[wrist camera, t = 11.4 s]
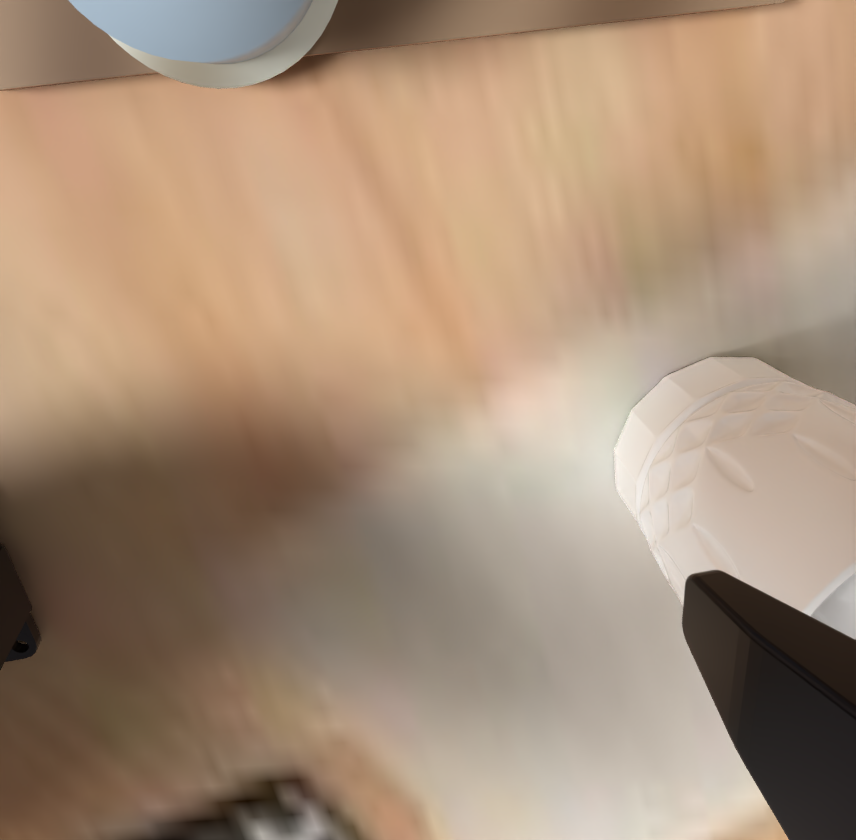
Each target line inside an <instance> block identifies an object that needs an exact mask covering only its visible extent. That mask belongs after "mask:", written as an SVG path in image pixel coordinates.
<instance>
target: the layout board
mask: <svg viewBox="0 0 856 840" xmlns="http://www.w3.org/2000/svg"><path fill="white" fill-rule="evenodd" d="M783 2H784V0H313V1H312V3H311V6H310V7H309V9H308V11H307V13H306V14H305V16H304V18H303V19H302V21H301V22H300V23H299V25H298V26H297V27H296V29H295V30H294V31H293V32H292V33H291V34H290V35H289V36H288V37H287V38H286V39H285V40H284V41H283V42H282V43H280V44H279V45H277V46H276V47H275V48H273V49H272V50H270V51H268V52H266V53H264V54H263V55H261V56H259V57H256V58H253V59H250V60H247V61H243V62H238V63H232V64H208V63H199V62H189V61H180V60H171V59H167V58H162V57H158V56H154V55H151V54H148V53H145V52H143V51H140V50H137V49H135V48H132V47H130V46H128V45H126V44H125V43H123V42H121V41H119V40H117V39H115V38H113V37H112V36H110V35H109V34H107V33H106V32H104V31H103V30H102V29H100V28H99V27H97V26H96V25H94V24H93V23H92V22H91V21H90V20H88V19H87V18H86V17H85V16H84V15H83V14H82V13H80V12H79V11H78V10H77V9H76V8H75V7H74V6H73V5H72V4H71V3H70V2H69V1H68V0H0V91H2V90H11V89H20V88H29V87H38V86H47V85H56V84H65V83H74V82H82V81H91V80H100V79H109V78H118V77H127V76H136V75H145V74H154V73H160V74H162V75H164V76H166V77H169V78H172V79H174V80H177V81H180V82H182V83H186V84H191V85H195V86H199V87H207V88H217V89H221V88H238V87H243V86H249V85H254V84H257V83H259V82H262V81H265V80H268V79H270V78H272V77H274V76H276V75H278V74H280V73H282V72H284V71H285V70H287V69H288V68H289V67H291V66H292V65H294V64H295V63H296V62H298V61H299V60H300V59H301V58H302V57H307V56H316V55H325V54H334V53H343V52H352V51H361V50H370V49H379V48H388V47H397V46H405V45H414V44H423V43H432V42H441V41H450V40H459V39H468V38H477V37H486V36H495V35H504V34H513V33H522V32H531V31H540V30H549V29H558V28H567V27H576V26H585V25H594V24H603V23H612V22H621V21H630V20H639V19H648V18H657V17H666V16H675V15H684V14H693V13H702V12H711V11H720V10H729V9H737V8H746V7H755V6H764V5H770V4H777V3H783Z"/></svg>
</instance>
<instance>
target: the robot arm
mask: <svg viewBox="0 0 856 840" xmlns="http://www.w3.org/2000/svg"><path fill="white" fill-rule="evenodd" d="M31 610H32V606H31V604H30V601H29V599H28V597H27V595H26V592H25V590H24V588H23V586H22V583H21V581H20V579H19V577H18V575H17V572H16V570H15V568H14V566H13V563H12V561H11V559H10V557H9V555H8V552H7V550H6V548H5V546H3V545H2V544H1V543H0V670H1V668H2V666H3V664H4V662H7V661H13V660H19V659H24V658H28V657H31V656H32V655H33V654H35V652H36V650H37V648H38V646H39V644H40V641H41V636H40V633H39V631H38V629H37V627H36V624H35V622H34V620H33V618H32V615H31V613H30V612H31ZM682 627H683V632H684V636H685V639H686V642H687V644H688V646H689V648H690V651H691V653H692V655H693V657H694V659H695V662H696V664H697V666H698V668H699V670H700V672H701V675H702V677H703V679H704V681H705V683H706V686H707V688H708V690H709V692H710V694H711V697H712V699H713V701H714V703H715V705H716V707H717V710H718V712H719V714H720V716H721V718H722V721H723V723H724V725H725V727H726V729H727V731H728V734H729V736H730V738H731V740H732V742H733V744H734V746H735V748H736V750H737V752H738V753H739V755H740V757H741V759H742V760H743V762H744V764H745V766H746V768H747V769H748V771H749V773H750V774H751V776H752V778H753V779H754V781H755V783H756V785H757V786H758V788H759V790H760V791H761V793H762V795H763V796H764V798H765V800H766V801H767V803H768V805H769V807H770V808H771V810H772V812H773V813H774V815H775V817H776V818H777V820H778V822H779V823H780V825H781V827H782V829H783V830H784V832H785V834H786V835H787V837H788V839H789V840H856V640H855V639H853V638H851V637H849V636H847V635H846V634H844V633H842V632H840V631H838V630H836V629H834V628H832V627H830V626H828V625H826V624H824V623H822V622H820V621H818V620H817V619H815V618H813V617H811V616H809V615H807V614H805V613H803V612H801V611H799V610H797V609H795V608H793V607H791V606H789V605H788V604H786V603H784V602H782V601H780V600H778V599H776V598H774V597H772V596H770V595H768V594H766V593H764V592H762V591H760V590H758V589H757V588H755V587H753V586H751V585H749V584H747V583H745V582H743V581H741V580H739V579H737V578H735V577H733V576H731V575H729V574H728V573H726V572H723V571H721V570H709V571H704V572H698V573H693V574H691V575H689V576H688V577H687V579H686V582H685V590H684V604H683V617H682ZM18 641H24V642H26V643H27V644H22V643H20V642H18Z"/></svg>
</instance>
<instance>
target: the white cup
mask: <svg viewBox="0 0 856 840" xmlns="http://www.w3.org/2000/svg"><path fill="white" fill-rule="evenodd" d="M614 467H615V487H616V490H617V492H618V494H619V495H620V497H621V498H622V500H623V502H624V503H625V505H626V506H627V508H628V509H629V511H630V512H631V514H632V515H633V517H634V518H635V520H636V521H637V523H638V525H639V527H640V528H641V530H642V532H643V534H644V536H645V537H646V539H647V541H648V544H649V547H650V551H651V554H652V555H653V557H654V558H655V559H656V561H657V563H658V565H659V567H660V569H661V571H662V572H663V574H664V576H665V578H666V579H667V581H668V583H669V585H670V586H671V587H672V589H673V590H674V592H675V593H676V595H677V597H678V599H679V601H680V602H681V604H682V606H683V604H684V590H685V582H686V579H687V577H688V576H689V575H691V574H693V573H698V572H704V571H709V570H721V571H723V572H726V573H728V574H729V575H731V576H733V577H735V578H737V579H739V580H741V581H743V582H745V583H747V584H749V585H751V586H753V587H755V588H757V589H758V590H760V591H762V592H764V593H766V594H768V595H770V596H772V597H774V598H776V599H778V600H780V601H782V602H784V603H786V604H788V605H789V606H791V607H793V608H795V609H797V610H799V611H801V612H803V613H805V614H807V615H809V616H811V617H813V618H815V619H817V620H818V621H820V622H822V623H824V624H826V625H828V626H830V627H832V628H834V629H836V630H838V631H840V632H842V633H844V634H846V635H847V636H849V637H851V638H853V639H855V640H856V405H855V404H853V403H851V402H848V401H846V400H844V399H842V398H839V397H837V396H835V395H834V394H832V393H830V392H829V391H823V390H819V389H815V388H812V387H811V386H809V385H807V384H804V383H802V382H800V381H798V380H795V379H793V378H791V377H789V376H788V375H786V374H784V373H782V372H780V371H779V370H777V369H775V368H773V367H772V366H770V365H768V364H766V363H764V362H763V361H761V360H759V359H757V358H754V357H709V358H706V359H704V360H701V361H699V362H697V363H694V364H692V365H690V366H688V367H685V368H683V369H681V370H678V371H676V372H674V373H671V374H669V375H667V376H665V377H664V378H663V379H662V380H661V381H660V382H659V383H658V384H657V385H656V386H655V387H654V388H653V389H652V390H651V391H650V392H649V393H648V394H647V395H646V396H645V397H644V398H643V399H642V400H641V401H640V402H639V403H637V404H636V405H635V406H634V407H633V408H632V410H631V411H630V414H629V416H628V418H627V421H626V423H625V425H624V427H623V430H622V432H621V434H620V437H619V439H618V441H617V444H616V446H615V448H614Z"/></svg>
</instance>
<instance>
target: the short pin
mask: <svg viewBox="0 0 856 840" xmlns="http://www.w3.org/2000/svg"><path fill="white" fill-rule="evenodd" d="M68 1H69V2H70V3H71V4H72V5H73V6H74V7H75V8H76V9H77V10H78V11H79V12H80V13H82V14H83V15H84V16H85V17H86V18H87V19H88V20H90V21H91V22H92V23H93V24H94V25H96V26H97V27H99V28H100V29H102V30H103V31H104V32H106V33H107V34H109V35H110V36H112V37H113V38H115V39H117V40H119V41H121V42H123V43H125V44H126V45H128V46H130V47H132V48H135V49H137V50H140V51H143V52H145V53H148V54H151V55H154V56H158V57H162V58H167V59H171V60H180V61H189V62H199V63H208V64H232V63H238V62H243V61H247V60H250V59H253V58H256V57H259V56H261V55H263V54H264V53H266V52H268V51H270V50H272V49H273V48H275V47H276V46H277V45H279V44H280V43H282V42H283V41H284V40H285V39H286V38H287V37H288V36H289V35H290V34H291V33H292V32H293V31H294V30H295V29H296V27H297V26H298V25H299V23H300V22H301V21H302V19H303V18H304V16H305V14H306V13H307V11H308V9H309V7H310V6H311V3H312V1H313V0H68Z"/></svg>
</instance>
